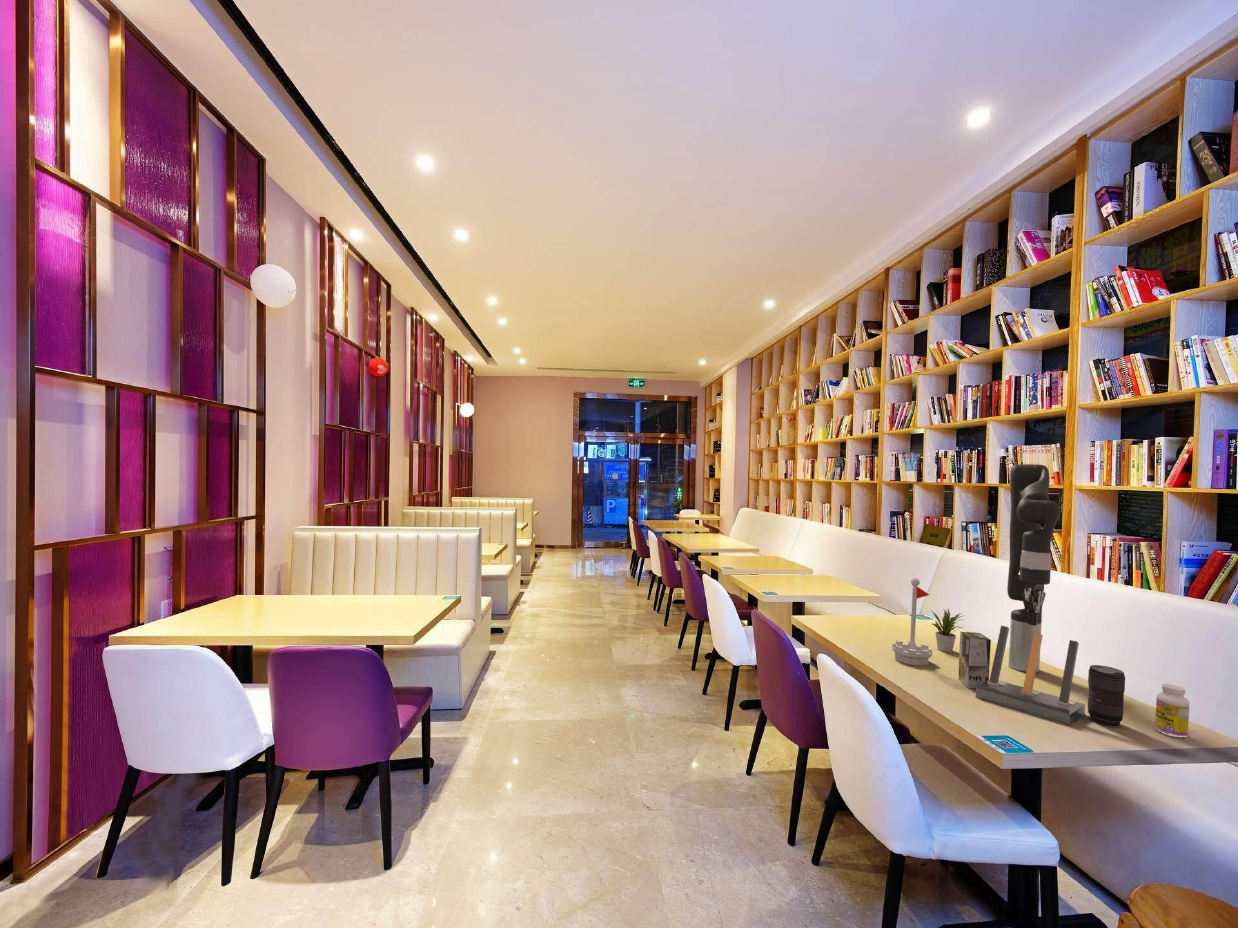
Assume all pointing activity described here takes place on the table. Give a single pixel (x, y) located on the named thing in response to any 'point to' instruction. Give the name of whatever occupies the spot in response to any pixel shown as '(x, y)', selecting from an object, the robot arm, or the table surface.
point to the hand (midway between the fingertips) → (1032, 624)
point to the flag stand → (913, 636)
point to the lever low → (998, 657)
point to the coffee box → (974, 659)
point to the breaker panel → (1031, 702)
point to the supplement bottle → (1172, 711)
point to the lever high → (1068, 674)
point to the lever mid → (1032, 665)
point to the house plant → (946, 632)
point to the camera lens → (1106, 695)
